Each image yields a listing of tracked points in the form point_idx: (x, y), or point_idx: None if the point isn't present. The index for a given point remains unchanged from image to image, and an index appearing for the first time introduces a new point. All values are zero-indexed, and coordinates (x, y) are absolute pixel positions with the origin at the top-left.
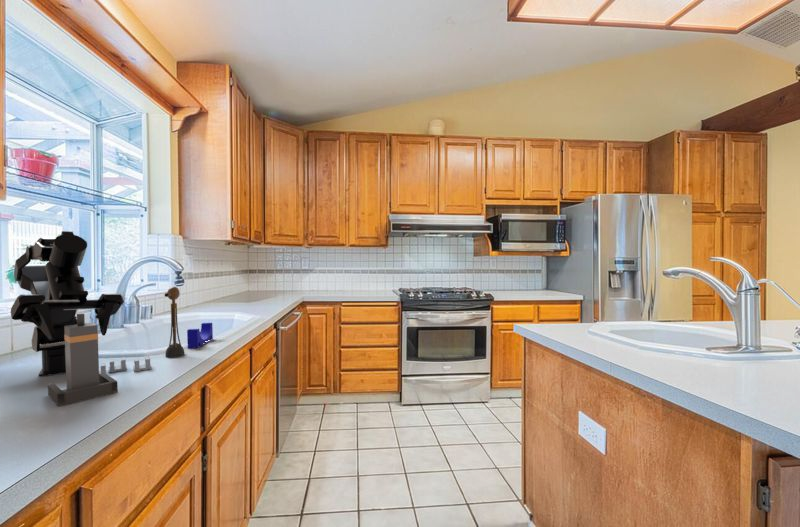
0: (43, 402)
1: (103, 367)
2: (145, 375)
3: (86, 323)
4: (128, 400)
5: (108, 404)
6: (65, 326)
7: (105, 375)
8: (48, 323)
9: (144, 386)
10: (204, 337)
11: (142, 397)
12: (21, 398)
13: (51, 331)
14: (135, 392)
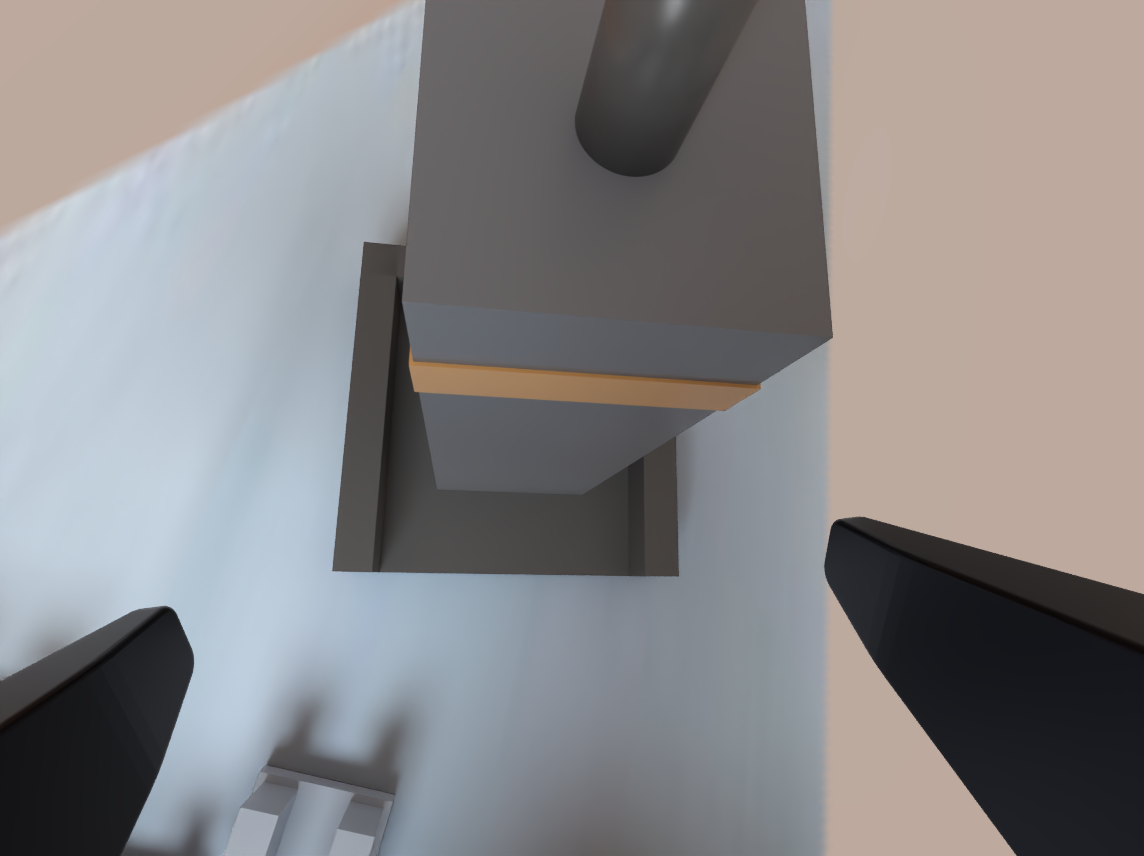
0: (690, 450)
1: (260, 807)
2: (68, 514)
3: (503, 275)
4: (393, 90)
5: None
6: (824, 261)
7: (357, 473)
8: (1083, 584)
9: (220, 247)
10: None
11: (326, 70)
12: (766, 653)
13: (923, 539)
14: (310, 182)
